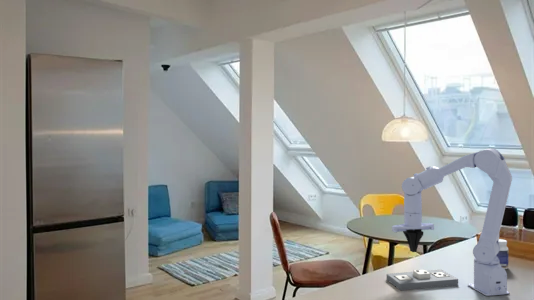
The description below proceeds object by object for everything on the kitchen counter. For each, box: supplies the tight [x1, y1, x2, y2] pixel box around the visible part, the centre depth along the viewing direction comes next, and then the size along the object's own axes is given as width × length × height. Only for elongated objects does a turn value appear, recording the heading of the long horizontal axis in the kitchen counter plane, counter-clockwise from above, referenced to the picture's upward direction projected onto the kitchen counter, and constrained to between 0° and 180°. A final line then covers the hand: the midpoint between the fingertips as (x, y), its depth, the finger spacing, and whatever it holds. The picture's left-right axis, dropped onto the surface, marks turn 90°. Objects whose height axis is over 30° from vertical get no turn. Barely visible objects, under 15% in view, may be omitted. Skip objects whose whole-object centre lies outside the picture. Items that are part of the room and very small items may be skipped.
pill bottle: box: [496, 238, 510, 270], centre depth 160 cm, size 6×6×10 cm
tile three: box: [431, 272, 449, 278], centre depth 148 cm, size 4×4×2 cm
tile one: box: [395, 275, 412, 281], centre depth 146 cm, size 4×4×2 cm
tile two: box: [412, 269, 430, 279], centre depth 147 cm, size 4×4×2 cm
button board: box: [386, 269, 459, 291], centre depth 147 cm, size 10×20×2 cm, turn 99°
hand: (413, 251), depth 153 cm, fingers closed
